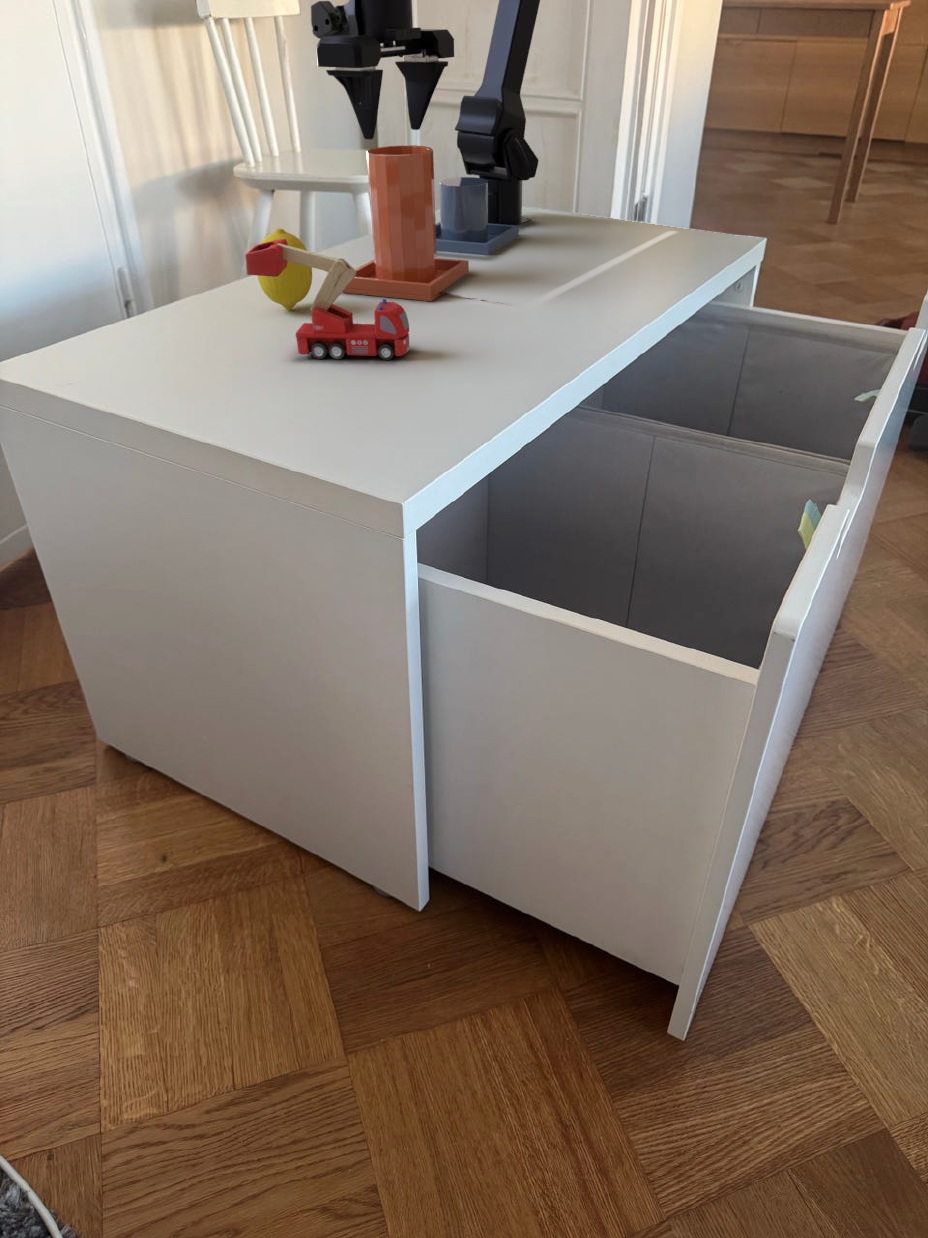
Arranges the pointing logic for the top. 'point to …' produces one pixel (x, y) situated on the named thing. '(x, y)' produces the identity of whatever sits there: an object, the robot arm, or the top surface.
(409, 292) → the terracotta tray
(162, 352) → the top surface
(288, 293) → the lemon
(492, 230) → the slate tray
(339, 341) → the toy fire truck
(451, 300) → the top surface
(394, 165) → the terracotta cup
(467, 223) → the blue-grey drinking cup
